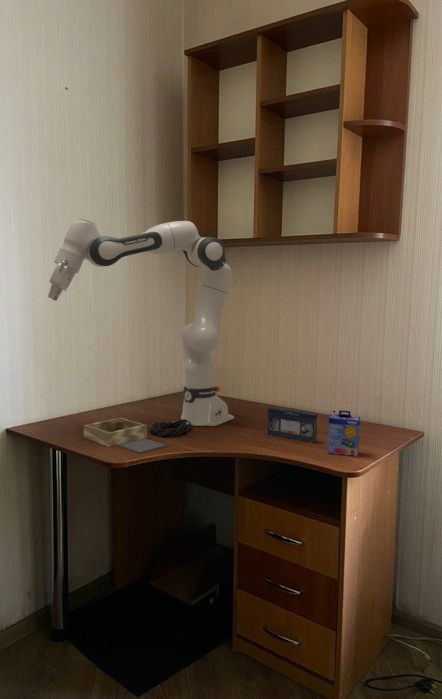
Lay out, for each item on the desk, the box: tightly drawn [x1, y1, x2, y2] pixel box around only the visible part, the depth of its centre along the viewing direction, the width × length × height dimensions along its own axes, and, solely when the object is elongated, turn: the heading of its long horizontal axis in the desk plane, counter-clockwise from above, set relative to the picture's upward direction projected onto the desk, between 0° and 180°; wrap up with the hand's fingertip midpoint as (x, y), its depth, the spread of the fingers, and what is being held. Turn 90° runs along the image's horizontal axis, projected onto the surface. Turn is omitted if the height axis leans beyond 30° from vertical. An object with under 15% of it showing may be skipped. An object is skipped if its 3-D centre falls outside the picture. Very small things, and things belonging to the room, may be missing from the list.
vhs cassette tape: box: [267, 407, 318, 444], centre depth 193 cm, size 18×3×10 cm, turn 55°
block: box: [105, 418, 125, 432], centre depth 192 cm, size 4×4×6 cm
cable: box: [149, 418, 193, 438], centre depth 201 cm, size 17×14×4 cm
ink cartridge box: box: [327, 409, 361, 457], centre depth 177 cm, size 10×6×14 cm, turn 73°
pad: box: [118, 438, 167, 454], centre depth 182 cm, size 11×11×1 cm
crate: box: [83, 417, 148, 448], centre depth 192 cm, size 16×15×4 cm
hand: (52, 299), depth 190 cm, fingers open, 8 cm apart
